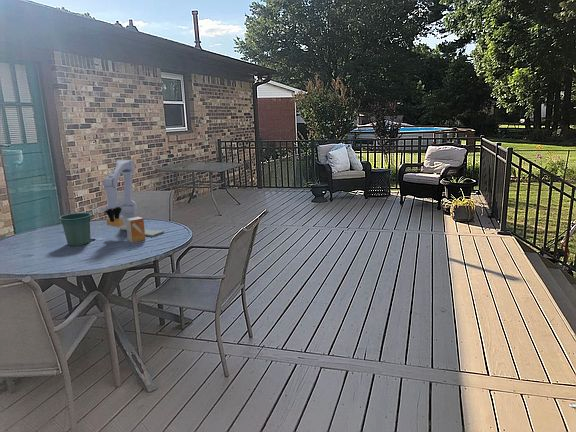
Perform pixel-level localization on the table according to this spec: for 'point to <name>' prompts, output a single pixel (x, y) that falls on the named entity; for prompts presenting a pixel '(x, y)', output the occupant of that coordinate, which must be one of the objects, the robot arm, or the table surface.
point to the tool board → (152, 232)
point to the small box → (135, 229)
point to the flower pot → (76, 228)
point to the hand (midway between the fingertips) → (114, 220)
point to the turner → (116, 223)
